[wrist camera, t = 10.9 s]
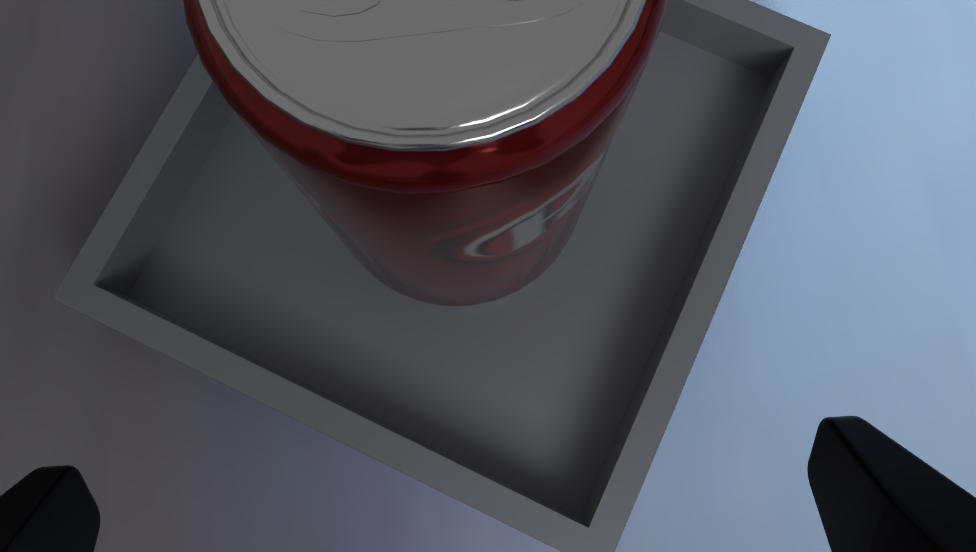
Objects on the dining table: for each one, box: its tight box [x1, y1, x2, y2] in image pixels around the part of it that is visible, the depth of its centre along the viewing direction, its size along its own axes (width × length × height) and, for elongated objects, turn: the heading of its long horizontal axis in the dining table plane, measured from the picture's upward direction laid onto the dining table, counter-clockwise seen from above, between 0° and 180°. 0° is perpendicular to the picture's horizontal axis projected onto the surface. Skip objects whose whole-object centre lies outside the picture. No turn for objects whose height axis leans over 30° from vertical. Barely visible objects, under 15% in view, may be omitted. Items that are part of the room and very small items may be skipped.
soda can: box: [183, 0, 667, 306], centre depth 16 cm, size 7×7×12 cm
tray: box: [52, 0, 831, 552], centre depth 21 cm, size 16×16×2 cm
